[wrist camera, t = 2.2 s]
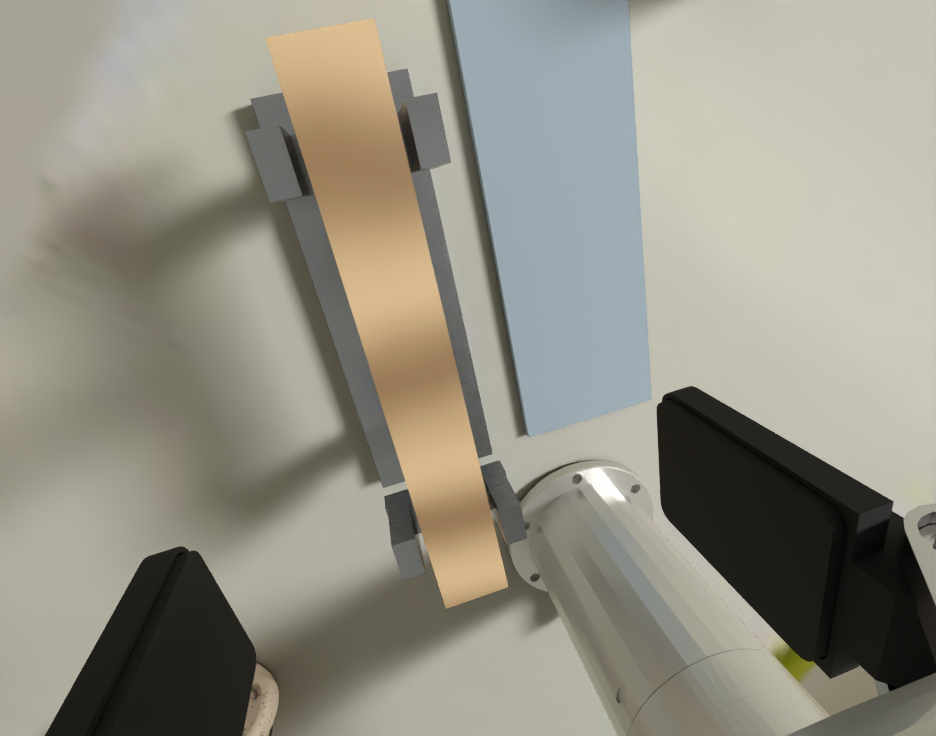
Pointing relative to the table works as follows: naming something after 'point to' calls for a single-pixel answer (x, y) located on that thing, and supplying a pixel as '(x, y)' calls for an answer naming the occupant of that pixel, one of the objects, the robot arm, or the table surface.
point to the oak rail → (391, 289)
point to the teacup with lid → (262, 704)
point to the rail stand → (293, 186)
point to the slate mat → (560, 197)
